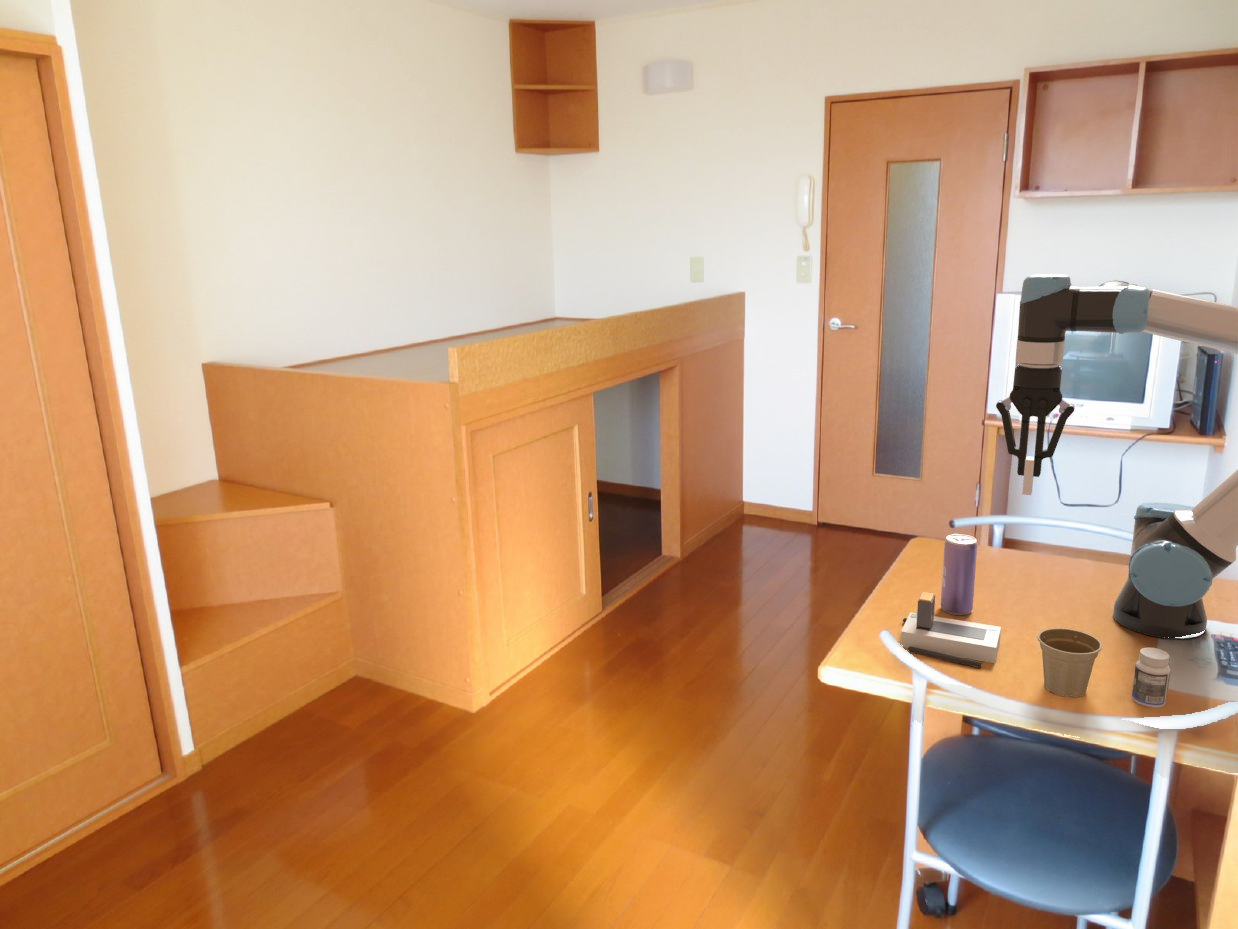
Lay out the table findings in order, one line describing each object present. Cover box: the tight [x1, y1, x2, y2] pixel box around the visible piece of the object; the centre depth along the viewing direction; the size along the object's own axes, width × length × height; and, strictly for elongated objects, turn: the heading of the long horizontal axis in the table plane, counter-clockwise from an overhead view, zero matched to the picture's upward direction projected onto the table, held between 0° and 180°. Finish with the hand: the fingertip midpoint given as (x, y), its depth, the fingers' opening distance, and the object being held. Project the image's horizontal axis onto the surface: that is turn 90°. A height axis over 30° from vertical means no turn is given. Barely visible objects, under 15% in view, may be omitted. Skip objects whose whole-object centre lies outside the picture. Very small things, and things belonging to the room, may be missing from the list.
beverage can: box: [940, 533, 978, 616], centre depth 174 cm, size 6×6×15 cm
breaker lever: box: [916, 591, 936, 628], centre depth 162 cm, size 2×4×5 cm, turn 152°
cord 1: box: [907, 646, 983, 669], centre depth 156 cm, size 12×1×1 cm, turn 56°
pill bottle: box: [1131, 646, 1171, 709], centre depth 140 cm, size 5×5×8 cm
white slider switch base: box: [900, 611, 1002, 664], centre depth 161 cm, size 16×9×3 cm, turn 62°
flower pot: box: [1036, 627, 1103, 698], centre depth 144 cm, size 9×9×9 cm
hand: (1027, 492), depth 162 cm, fingers closed
